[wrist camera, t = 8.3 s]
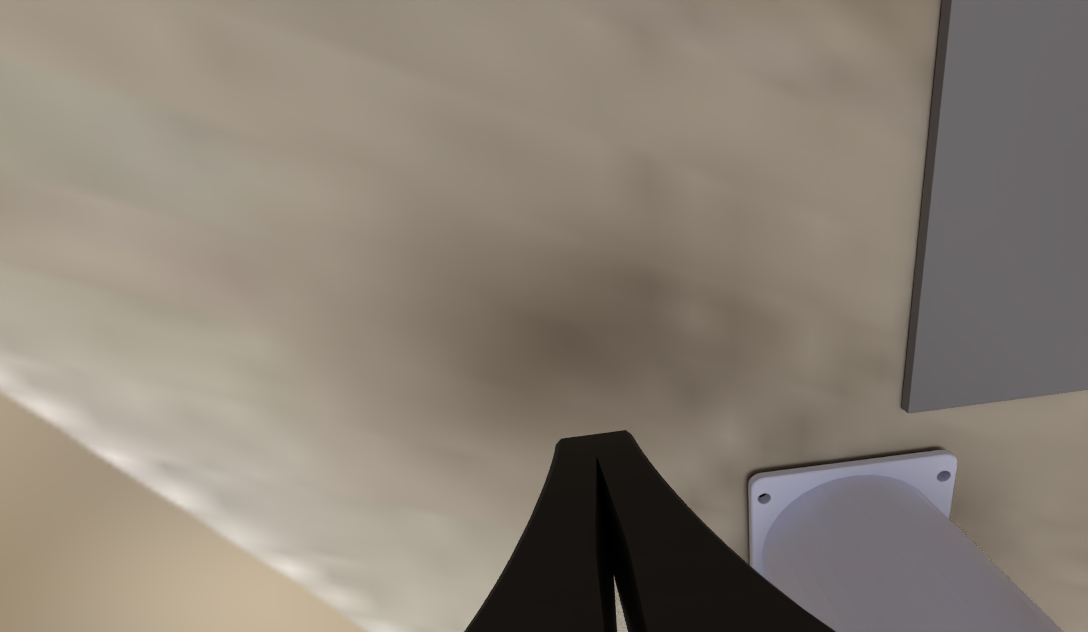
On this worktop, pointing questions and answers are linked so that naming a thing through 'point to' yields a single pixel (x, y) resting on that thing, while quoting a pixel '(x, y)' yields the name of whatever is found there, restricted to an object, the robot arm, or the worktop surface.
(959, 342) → the mat
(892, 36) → the worktop surface
